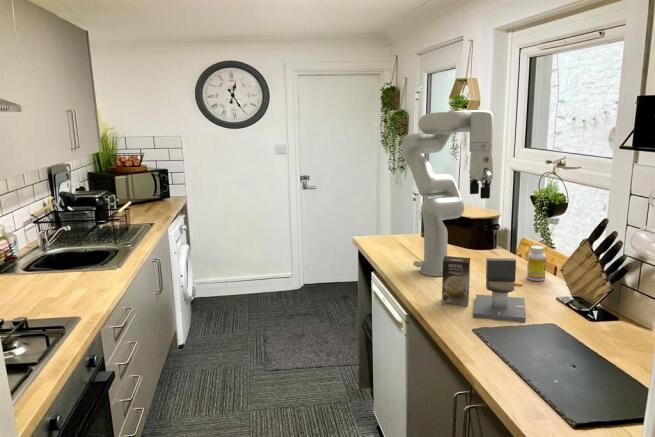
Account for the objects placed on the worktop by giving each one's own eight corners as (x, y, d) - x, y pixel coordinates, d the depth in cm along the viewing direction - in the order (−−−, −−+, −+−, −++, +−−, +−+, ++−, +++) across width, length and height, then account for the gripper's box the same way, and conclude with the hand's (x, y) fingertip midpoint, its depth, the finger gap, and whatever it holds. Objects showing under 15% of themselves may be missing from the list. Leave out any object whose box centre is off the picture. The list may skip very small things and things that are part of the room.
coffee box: (441, 305, 180) (441, 260, 177) (443, 298, 186) (443, 255, 183) (468, 307, 177) (469, 262, 174) (469, 300, 183) (470, 257, 180)
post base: (473, 317, 168) (473, 296, 167) (476, 298, 185) (476, 278, 183) (525, 322, 163) (526, 300, 162) (524, 302, 180) (524, 282, 178)
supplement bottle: (546, 281, 199) (548, 249, 196) (528, 281, 200) (529, 249, 198) (543, 276, 205) (544, 245, 203) (525, 275, 207) (526, 244, 204)
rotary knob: (488, 292, 169) (489, 263, 167) (484, 283, 177) (485, 255, 175) (524, 293, 167) (526, 263, 165) (519, 284, 176) (520, 255, 174)
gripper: (501, 148, 170) (500, 199, 174) (481, 145, 187) (480, 191, 191) (480, 149, 170) (478, 200, 173) (461, 146, 187) (460, 192, 190)
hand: (479, 196), depth 182 cm, fingers open, 9 cm apart
